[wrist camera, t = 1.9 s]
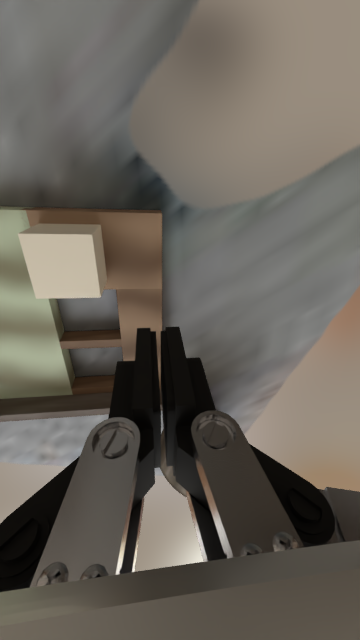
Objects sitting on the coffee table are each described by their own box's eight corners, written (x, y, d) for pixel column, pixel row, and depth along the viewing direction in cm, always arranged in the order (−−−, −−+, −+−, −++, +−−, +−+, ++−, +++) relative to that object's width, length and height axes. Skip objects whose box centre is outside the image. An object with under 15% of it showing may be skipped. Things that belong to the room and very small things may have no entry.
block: (38, 223, 21) (17, 233, 17) (100, 224, 21) (92, 234, 18) (52, 280, 23) (35, 298, 20) (107, 279, 24) (100, 297, 20)
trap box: (-107, 203, 21) (-165, 210, 17) (160, 210, 23) (163, 217, 19) (-13, 393, 32) (-35, 424, 28) (161, 383, 34) (163, 410, 30)
